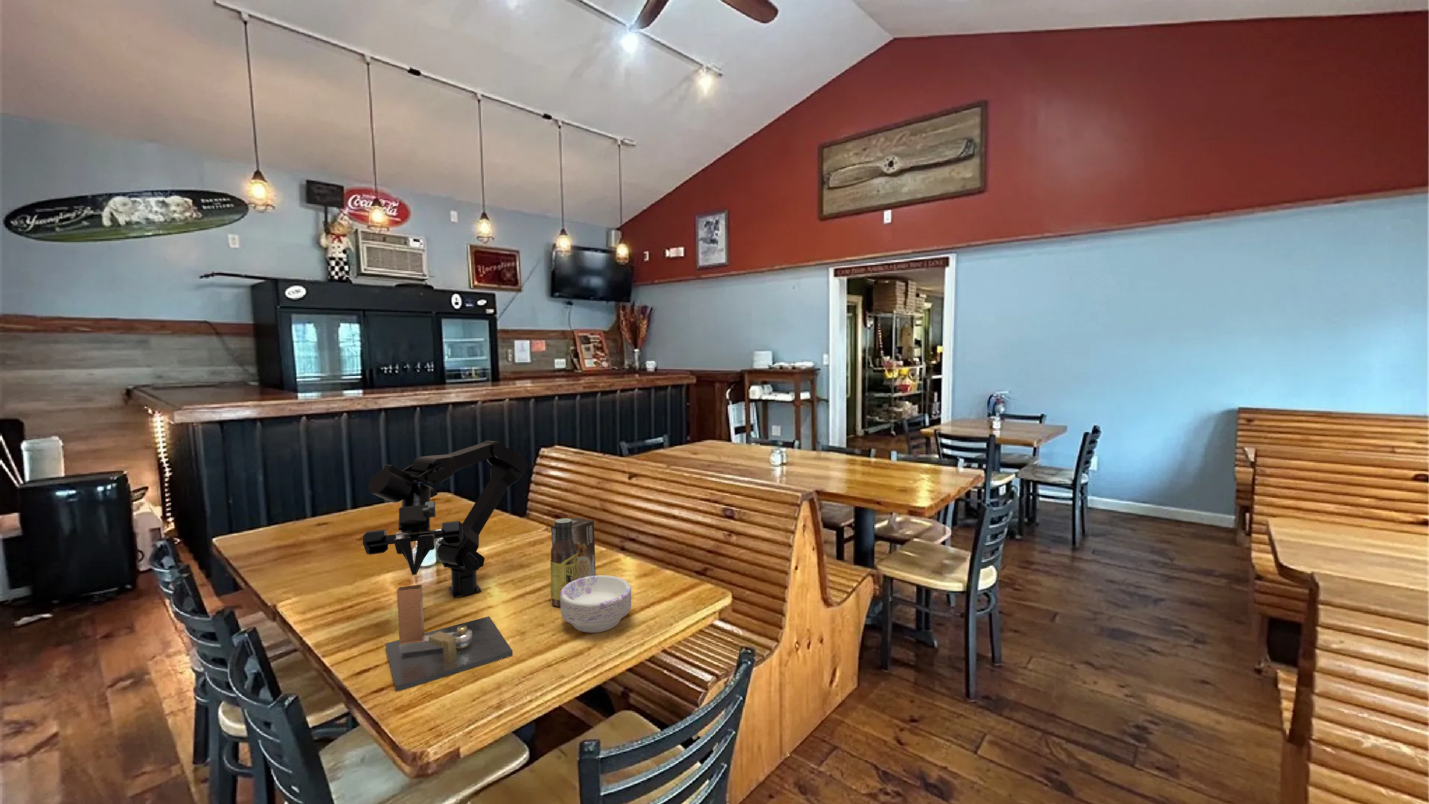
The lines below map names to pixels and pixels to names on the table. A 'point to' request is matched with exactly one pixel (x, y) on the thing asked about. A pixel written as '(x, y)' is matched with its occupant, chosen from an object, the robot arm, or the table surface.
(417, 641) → the link
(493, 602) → the table surface
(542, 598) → the table surface
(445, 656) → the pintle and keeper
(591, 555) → the coffee box
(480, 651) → the base plate
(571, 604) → the paper bowls
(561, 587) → the sauce bottle
